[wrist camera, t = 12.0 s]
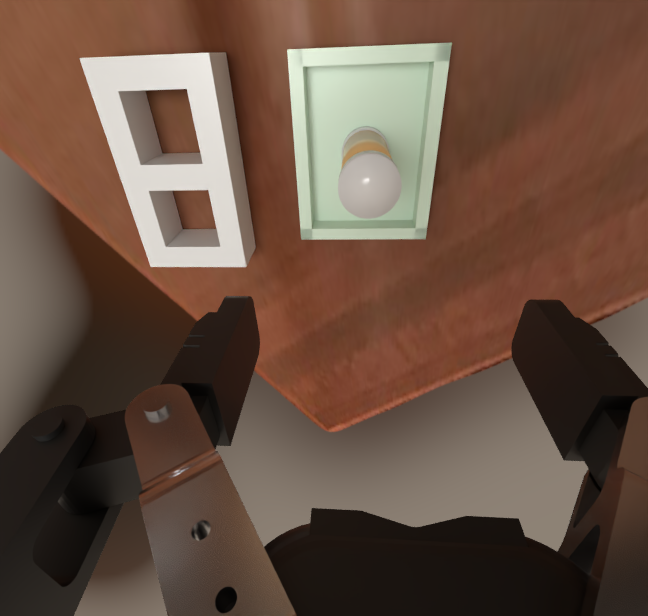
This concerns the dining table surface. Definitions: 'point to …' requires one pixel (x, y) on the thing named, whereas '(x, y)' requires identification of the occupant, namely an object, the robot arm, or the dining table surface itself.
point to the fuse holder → (176, 155)
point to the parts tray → (366, 110)
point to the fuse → (368, 174)
